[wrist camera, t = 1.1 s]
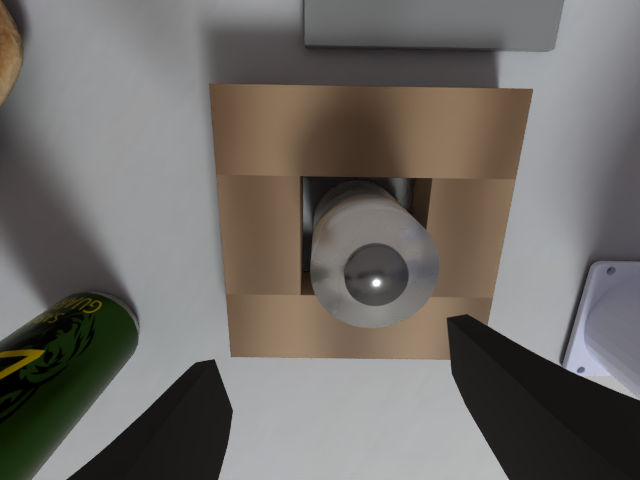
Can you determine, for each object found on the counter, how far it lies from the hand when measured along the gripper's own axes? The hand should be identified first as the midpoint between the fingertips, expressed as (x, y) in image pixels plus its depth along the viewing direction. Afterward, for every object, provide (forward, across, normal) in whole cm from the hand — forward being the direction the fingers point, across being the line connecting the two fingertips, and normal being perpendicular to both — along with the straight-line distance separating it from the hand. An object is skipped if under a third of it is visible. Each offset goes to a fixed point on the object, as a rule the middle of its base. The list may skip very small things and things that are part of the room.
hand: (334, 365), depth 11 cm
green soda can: (+11, +15, +2) cm, 19 cm away
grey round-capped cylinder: (+10, -2, -1) cm, 11 cm away
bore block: (+10, -2, -1) cm, 11 cm away
